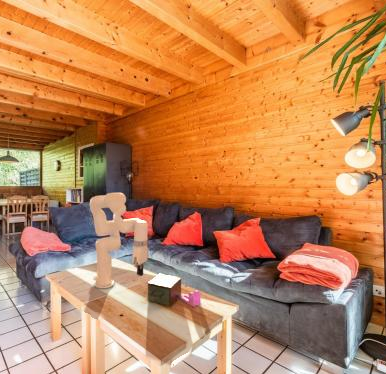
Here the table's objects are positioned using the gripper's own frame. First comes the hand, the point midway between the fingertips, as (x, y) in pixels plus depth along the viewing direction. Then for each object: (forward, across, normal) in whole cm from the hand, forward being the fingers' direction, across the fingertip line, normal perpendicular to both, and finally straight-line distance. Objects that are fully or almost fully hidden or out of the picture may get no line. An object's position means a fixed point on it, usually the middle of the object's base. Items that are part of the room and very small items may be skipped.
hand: (140, 274), depth 144 cm
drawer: (+16, -10, +9) cm, 21 cm away
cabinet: (+17, -14, +10) cm, 24 cm away
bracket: (+17, -17, +24) cm, 33 cm away
